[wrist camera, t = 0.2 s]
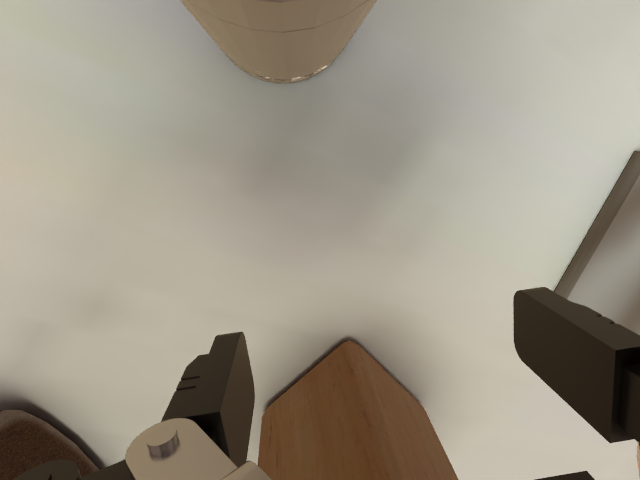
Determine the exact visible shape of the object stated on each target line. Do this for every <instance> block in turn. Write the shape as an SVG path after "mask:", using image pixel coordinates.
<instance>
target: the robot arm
mask: <svg viewBox="0 0 640 480" xmlns="http://www.w3.org/2000/svg"><path fill="white" fill-rule="evenodd" d="M180 1H181V2H182V3H183V4H184V6H185V7H186V8H187V9H188V10H189V12H190V13H191V14H192V15H193V16H194V17H195V19H196V20H197V21H198V22H199V23H200V24H201V26H202V27H203V28H204V29H205V30H206V32H207V33H208V34H209V35H210V36H211V37H212V39H213V40H214V41H215V42H216V44H217V45H218V46H219V47H220V48H221V49H222V51H223V52H224V53H225V54H226V55H227V56H228V57H229V58H230V59H231V60H232V61H233V62H234V63H235V65H237V66H238V67H240V68H241V69H243V70H244V71H245V72H247V73H248V74H250V75H252V76H255V77H257V78H259V79H262V80H265V81H270V82H275V83H294V82H298V81H301V80H305V79H309V78H310V77H312V76H314V75H316V74H318V73H320V72H322V71H323V70H324V69H325V68H326V67H328V66H329V65H330V64H331V63H332V62H333V61H334V60H335V59H336V57H337V56H338V55H339V54H340V52H341V51H342V50H343V48H344V47H345V45H346V44H347V43H348V41H349V40H350V39H351V37H352V36H353V34H354V33H355V31H356V30H357V28H358V27H359V25H360V24H361V23H362V21H363V20H364V18H365V17H366V15H367V14H368V12H369V11H370V9H371V8H372V7H373V5H374V4H375V2H376V1H377V0H180ZM514 344H515V348H516V351H517V353H518V355H519V357H520V359H521V360H522V361H523V362H524V363H525V364H526V365H527V366H528V367H529V368H530V369H531V370H532V371H533V372H534V373H536V374H537V375H538V376H539V377H540V378H541V379H542V380H543V381H544V382H545V383H546V384H547V385H548V386H549V387H550V388H552V389H553V390H554V391H555V392H556V393H557V394H558V395H559V396H560V397H561V398H562V399H563V400H564V401H565V402H567V403H568V404H569V405H570V406H571V407H572V408H573V409H574V410H575V411H576V412H577V413H578V414H579V415H580V416H581V417H583V418H584V419H585V420H586V421H587V422H588V423H589V424H590V425H591V426H592V427H593V428H594V429H595V430H596V431H598V432H599V433H600V434H601V435H602V436H603V437H604V438H605V439H606V440H607V441H608V442H609V443H613V442H619V441H625V440H631V439H635V440H636V441H638V446H637V462H638V469H639V477H640V335H638V334H636V333H634V332H633V331H631V330H629V329H627V328H625V327H623V326H622V325H620V324H615V322H614V321H612V320H611V319H609V318H607V317H605V316H604V317H602V315H601V314H600V313H598V312H596V311H594V310H592V309H591V308H589V307H587V306H584V305H581V304H577V303H574V302H571V301H569V300H567V299H566V298H564V297H562V296H560V295H558V294H557V293H555V292H553V291H551V290H549V289H548V288H546V287H540V288H533V289H526V290H520V291H517V292H516V293H515V295H514ZM176 390H177V391H175V393H174V395H173V397H172V399H171V401H170V404H169V406H168V408H167V410H166V412H165V414H164V416H163V419H162V421H161V422H160V423H157V424H155V425H153V426H151V427H150V428H148V429H146V430H145V431H143V432H142V433H141V434H140V435H138V436H137V437H136V438H135V439H134V440H133V441H132V443H131V444H130V446H129V447H128V449H127V451H126V455H125V460H123V461H121V462H118V463H116V464H114V465H111V466H108V467H106V468H103V469H101V470H98V471H95V472H93V473H90V474H88V475H85V476H82V477H81V475H80V472H79V469H78V466H77V464H76V463H75V462H73V461H71V460H54V461H50V462H47V463H44V464H41V465H39V466H36V467H34V468H32V469H30V470H28V471H26V472H24V473H23V474H21V475H20V476H18V477H16V478H15V479H14V480H272V479H271V478H270V477H269V476H268V475H267V474H266V473H265V472H264V471H263V470H262V469H261V468H260V467H259V466H258V465H256V464H255V463H254V462H252V461H246V459H247V452H248V445H249V437H250V430H251V423H252V416H253V409H254V400H255V393H254V382H253V377H252V371H251V366H250V361H249V356H248V350H247V345H246V340H245V336H244V333H243V332H237V333H230V334H223V335H217V336H216V337H215V340H214V342H213V345H212V347H211V350H210V352H209V354H205V355H199V356H198V357H197V358H196V359H195V360H193V361H192V362H191V363H190V364H189V365H188V366H187V367H186V369H185V371H184V374H183V376H182V378H181V381H180V382H179V384H178V386H177V389H176ZM536 480H594V478H593V477H592V476H591V475H590V474H589V473H588V472H587V471H583V472H577V473H571V474H565V475H559V476H553V477H547V478H542V479H536Z"/></svg>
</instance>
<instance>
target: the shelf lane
mask: <svg viewBox="0 0 640 480" xmlns="http://www.w3.org/2000/svg"><path fill="white" fill-rule="evenodd" d="M554 292H555V293H557V294H558V295H560V296H562V297H564V298H566V299H567V300H569V301H571V302H574V303H577V304H581V305H584V306H587V307H589V308H591V309H592V310H594V311H596V312H598V313H600V314H601V315H602V317H604V316H605V317H607V318H609V319H611V320H612V321H614V322H615V324H620V325H622V326H623V327H625V328H627V329H629V330H631V331H633V332H634V333H636V334H638V335H640V152H639V151H634V153H633V155H632V157H631V158H630V160H629V162H628V164H627V165H626V167H625V169H624V171H623V172H622V174H621V176H620V178H619V179H618V181H617V183H616V184H615V186H614V188H613V190H612V191H611V193H610V195H609V197H608V198H607V200H606V202H605V204H604V205H603V207H602V209H601V211H600V212H599V214H598V216H597V218H596V219H595V221H594V223H593V225H592V226H591V228H590V230H589V231H588V233H587V235H586V237H585V238H584V240H583V242H582V244H581V245H580V247H579V249H578V251H577V252H576V254H575V256H574V258H573V259H572V261H571V263H570V265H569V266H568V268H567V270H566V272H565V273H564V275H563V277H562V278H561V280H560V282H559V284H558V285H557V287H556V289H555V291H554Z"/></svg>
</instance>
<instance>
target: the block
mask: <svg viewBox="0 0 640 480" xmlns="http://www.w3.org/2000/svg"><path fill="white" fill-rule="evenodd" d="M258 466H259V467H260V468H261V469H262V470H263V471H264V472H265V473H266V474H267V475H268V476H269V477H270V478H271V479H272V480H458V478H457V476H456V474H455V472H454V470H453V467H452V465H451V463H450V461H449V459H448V457H447V455H446V453H445V451H444V449H443V447H442V445H441V443H440V441H439V438H438V436H437V434H436V432H435V430H434V428H433V426H432V424H431V422H430V420H429V418H428V416H427V414H426V411H425V409H424V407H423V406H422V405H421V404H420V403H419V402H418V401H416V400H415V399H414V398H413V397H412V396H411V395H410V394H409V393H408V392H407V391H406V390H405V389H404V388H403V387H402V386H401V385H400V384H399V383H398V382H397V381H396V380H395V379H394V378H393V377H392V376H391V375H390V374H389V373H387V372H386V371H385V370H384V369H383V368H382V367H381V366H380V365H379V364H378V363H377V362H376V361H375V360H374V359H373V358H372V357H371V356H370V355H369V354H368V353H367V352H366V351H365V350H364V349H363V348H362V347H361V346H359V345H358V344H356V343H354V342H352V341H350V340H349V341H347V342H344V343H342V344H341V345H340V346H339V347H337V348H336V349H335V350H334V351H333V352H332V353H330V354H329V355H328V356H327V357H326V358H325V359H323V360H322V361H321V362H320V363H319V364H318V365H316V366H315V367H314V368H313V369H312V370H310V371H309V372H308V373H307V374H306V375H305V376H303V377H302V378H301V379H300V380H299V381H298V382H296V383H295V384H294V385H293V386H292V387H291V388H289V389H288V390H287V391H286V392H285V393H284V394H282V395H281V396H280V397H279V398H278V399H277V400H275V401H274V402H273V403H272V404H271V405H269V407H268V408H267V409H266V411H265V413H264V415H263V417H262V424H261V435H260V446H259V457H258Z"/></svg>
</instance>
